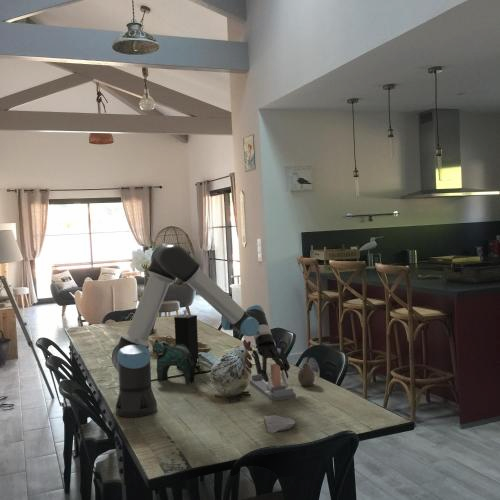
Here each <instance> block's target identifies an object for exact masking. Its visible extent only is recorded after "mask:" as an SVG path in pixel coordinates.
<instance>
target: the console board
mask: <svg viewBox="0 0 500 500" xmlns="http://www.w3.org/2000/svg"><path fill="white" fill-rule="evenodd" d="M269 375H270V378H271V372H269ZM267 384H268V383H267V382H265V380H264V377H263V376H262V374H260V375H259V374H258V373H256V374H251V379H249V385H251V386H252V385H253V386H252V387H253V388H255V389H256V390H257V391H259V392H260V393H261V394H262V395H263V396H264V397H266V398H267V399H268V400H270V402H277V401H283V400H290V399H296V398H297V394H296V393H295V392H294V388H291V387H290V388H285V389H283V390H276V391H272V392H271V391H270V390H269V389H267Z"/></svg>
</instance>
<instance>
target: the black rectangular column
mask: <svg viewBox="0 0 500 500" xmlns="http://www.w3.org/2000/svg"><path fill="white" fill-rule="evenodd" d="M182 311H183V314H181V315H177V316H174V318H173V319H174V320H173V321H174V335H175V336H174V338H175V339H174V340H175V342H174V343H175V345H176V344H182V345H184V346H186V347H187V348H188V349H189V352H190V353H191V355H192V357H193V361H194V366H195V368H197V367H196V363H197V358H198V359H199V344H198V343H199V339H198V335H199V334H198V316H197V315H196V314H188V309H184V310H182ZM176 346H181V345H176ZM184 346H182V347H184ZM176 369H180V370H182V369H181V368H180V367H178V366H176Z"/></svg>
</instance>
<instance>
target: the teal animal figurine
mask: <svg viewBox="0 0 500 500" xmlns="http://www.w3.org/2000/svg"><path fill="white" fill-rule="evenodd" d="M168 337H169V338H171V339H172V340H173V336H171V335H167V336H166V337H165V340H161V341H159V340H158V339H155V341H154V344H153V345H152V353H153V355H154V356H155V357H157V360H156V374H157V376H156V378H157V381H165V380H167V379H168V378H169V375H168V374H169V370H170V367H171V366H174V367H177V366H178V367H180V368H181V369H180V370H182V373H183V377H184V379H185V380H184V381H185V384H192V383H195V376H196V367H195V366H194V361H193V357H192V355H191V353H190V352H189V349H188V348H187V347H186V346H184V345H182V344H176V343H175V344H173V345H170V344H169V343H168ZM176 345H181V346H176ZM182 346H184V347H182Z"/></svg>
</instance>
